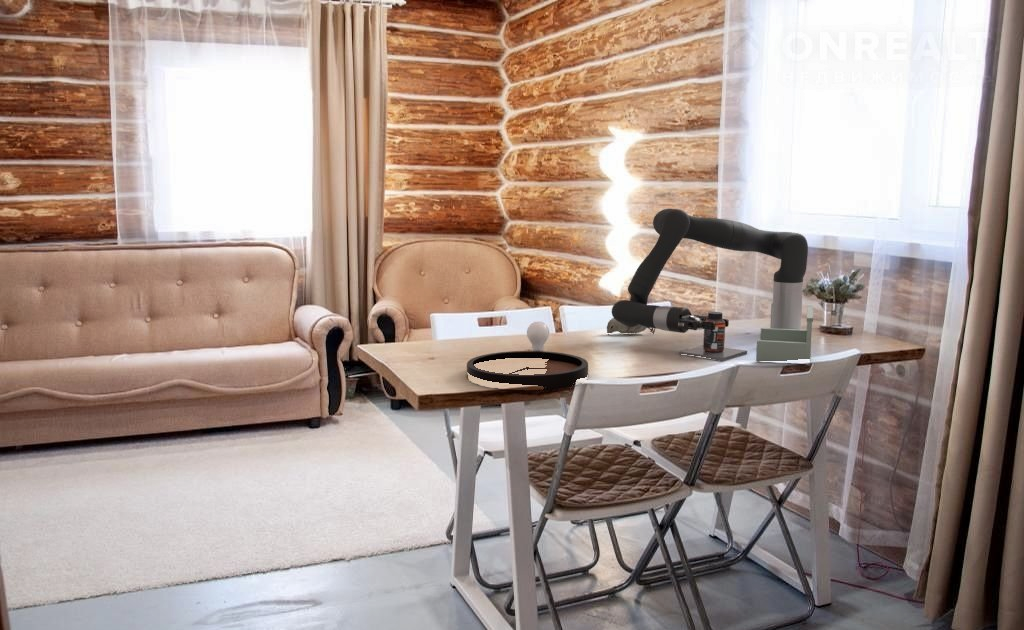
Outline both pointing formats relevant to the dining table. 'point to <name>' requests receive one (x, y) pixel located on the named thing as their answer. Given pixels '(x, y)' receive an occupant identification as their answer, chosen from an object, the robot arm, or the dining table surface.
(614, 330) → the decorative bird
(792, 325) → the robot arm
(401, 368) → the dining table surface
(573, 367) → the wall clock
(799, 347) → the sage green open tray
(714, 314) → the supplement bottle
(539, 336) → the lightbulb
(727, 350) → the slate tile
